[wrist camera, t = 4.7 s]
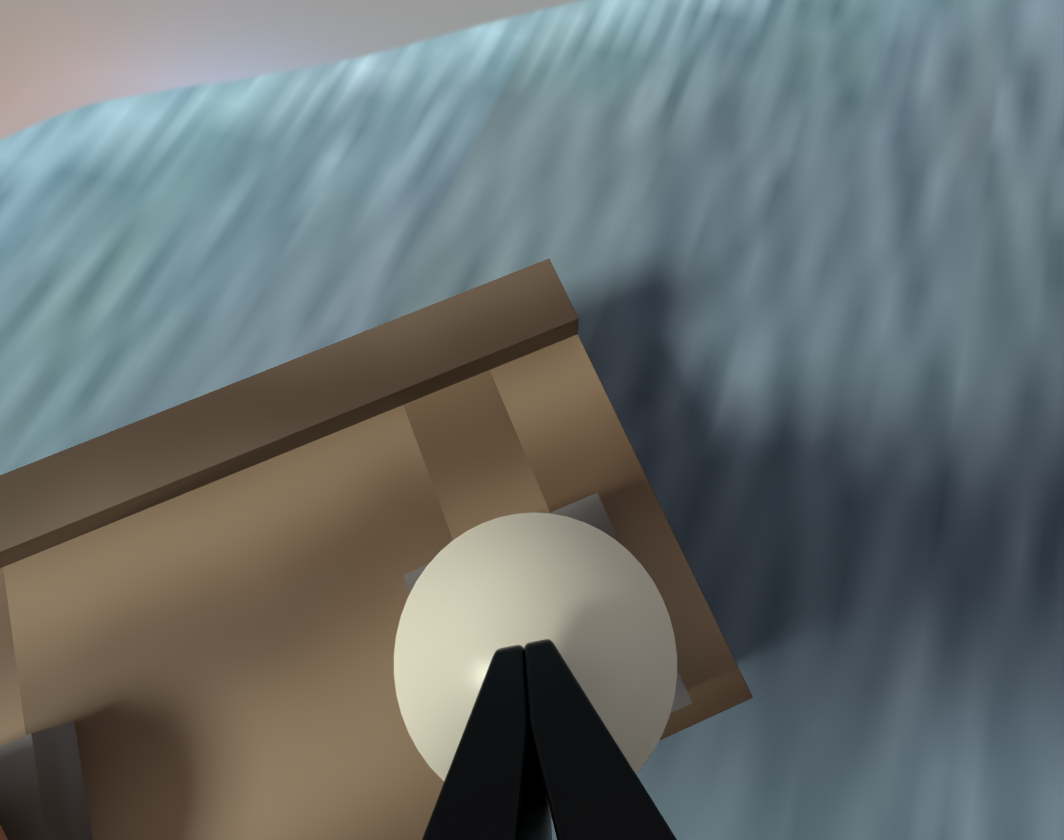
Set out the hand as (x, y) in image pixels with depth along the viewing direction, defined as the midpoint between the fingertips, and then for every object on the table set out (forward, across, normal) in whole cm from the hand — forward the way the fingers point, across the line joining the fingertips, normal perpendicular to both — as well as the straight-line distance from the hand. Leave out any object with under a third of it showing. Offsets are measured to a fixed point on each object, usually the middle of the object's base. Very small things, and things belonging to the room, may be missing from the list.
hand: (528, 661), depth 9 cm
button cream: (+5, 0, +5) cm, 7 cm away
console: (+8, +7, +6) cm, 12 cm away
